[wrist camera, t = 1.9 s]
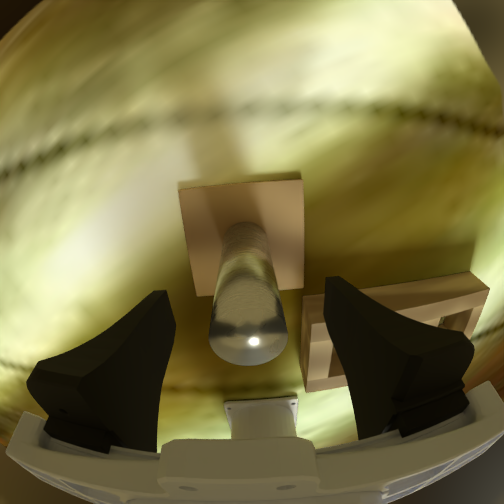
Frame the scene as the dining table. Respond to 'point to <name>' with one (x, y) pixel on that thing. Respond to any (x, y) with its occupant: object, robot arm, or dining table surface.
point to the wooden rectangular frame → (401, 301)
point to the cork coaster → (245, 210)
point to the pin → (247, 300)
